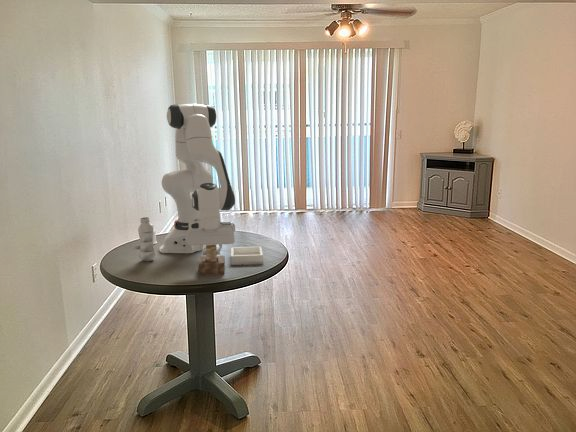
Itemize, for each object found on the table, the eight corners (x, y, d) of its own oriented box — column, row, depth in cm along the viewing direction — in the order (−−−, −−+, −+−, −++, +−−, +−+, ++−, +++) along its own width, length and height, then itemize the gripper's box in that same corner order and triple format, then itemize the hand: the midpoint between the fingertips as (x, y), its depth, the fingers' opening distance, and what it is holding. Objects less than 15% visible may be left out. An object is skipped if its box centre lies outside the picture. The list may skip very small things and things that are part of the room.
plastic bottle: (141, 258, 220) (138, 216, 216) (156, 258, 221) (153, 216, 216) (138, 263, 214) (135, 220, 210) (154, 262, 215) (150, 219, 210)
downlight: (160, 243, 245) (158, 224, 243) (147, 246, 241) (145, 226, 239) (153, 241, 251) (151, 222, 249) (140, 243, 247) (138, 224, 245)
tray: (231, 264, 211) (231, 256, 210) (231, 255, 224) (231, 247, 223) (262, 263, 212) (262, 255, 211) (261, 254, 226) (261, 246, 225)
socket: (199, 275, 197) (198, 264, 196) (200, 267, 208) (200, 256, 206) (224, 274, 198) (223, 263, 197) (224, 266, 209) (224, 255, 207)
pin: (206, 272, 201) (205, 247, 198) (207, 268, 205) (206, 244, 202) (217, 271, 201) (216, 246, 199) (217, 268, 205) (216, 243, 203)
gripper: (235, 220, 202) (236, 251, 206) (186, 221, 200) (188, 253, 204) (235, 223, 196) (236, 255, 199) (184, 225, 194) (186, 257, 197)
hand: (211, 254), depth 201 cm, fingers closed on pin, 4 cm apart
